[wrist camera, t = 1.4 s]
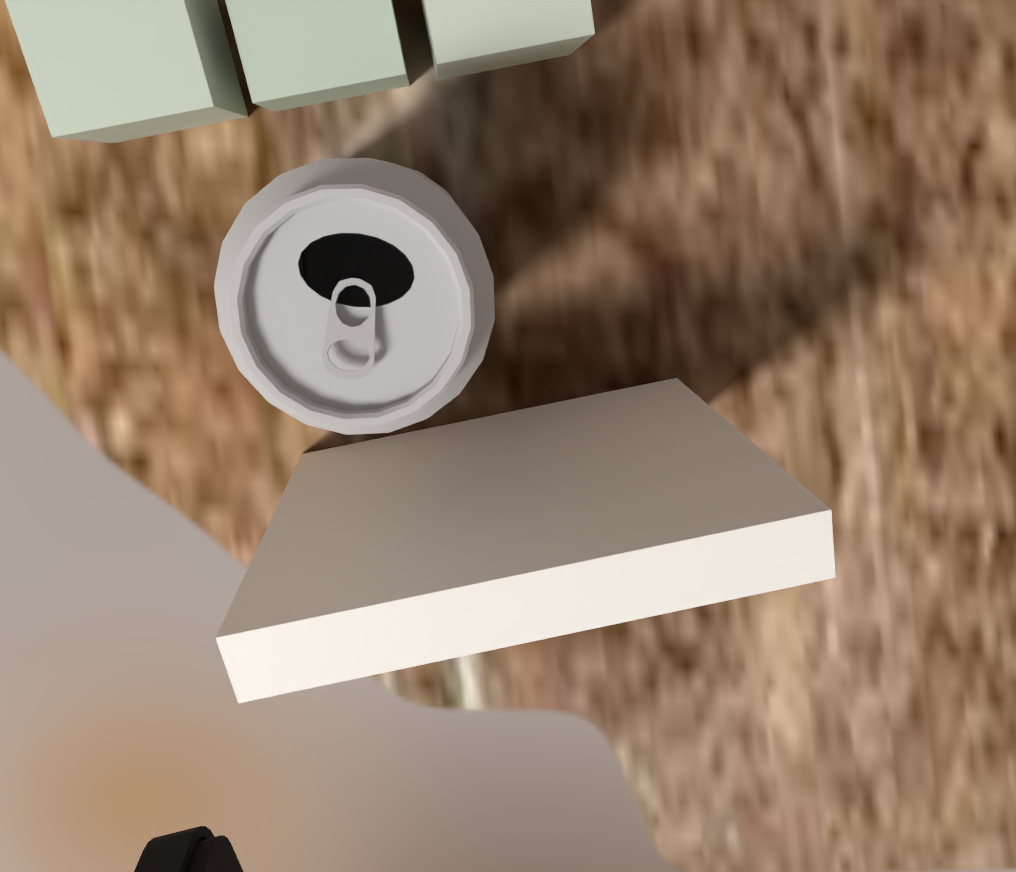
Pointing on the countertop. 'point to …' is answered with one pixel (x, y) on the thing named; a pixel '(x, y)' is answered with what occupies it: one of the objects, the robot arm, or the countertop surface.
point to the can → (355, 295)
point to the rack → (514, 537)
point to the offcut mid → (317, 49)
